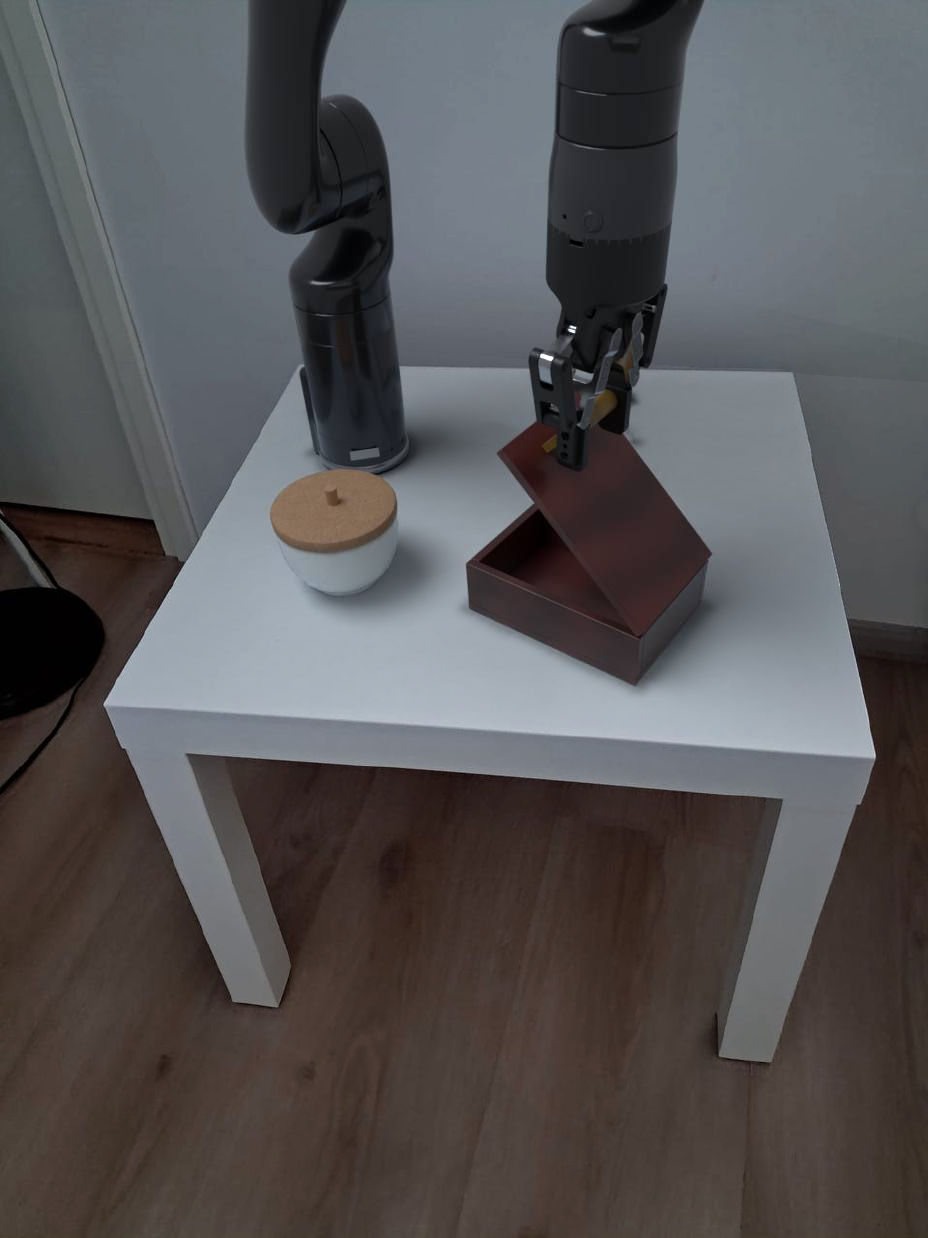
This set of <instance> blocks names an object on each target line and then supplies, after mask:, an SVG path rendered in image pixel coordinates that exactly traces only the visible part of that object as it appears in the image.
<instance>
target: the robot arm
mask: <svg viewBox="0 0 928 1238" xmlns="http://www.w3.org/2000/svg"><path fill="white" fill-rule="evenodd" d="M348 1H349V0H246V3H247V52H246V77H245V78H246V79H245V83H246V84H245V102H244V104H245V105H244V128H243V129H244V134H243V136H244V137H243V138H244V139H243V140H244V143H243V144H244V145H243V147H244V161H245V169H246V176H247V180H248V184H249V188H250V192H251V194H252V197H253V199H254V202H255V204H256V206H257V209H258V211H259V212H260V214H261V215H262V217H263V218H264V219H265V221H266V222H267V223H268V225H270V226H271V227H272V228H273V229H274V230H276V231H277V232H279V233H282V234H285V235H290V236H297V235H303V234H307V233H311V232H313V234H312V236H311V237H310V240H309V242H308V243H307V244H306V246H305V247H304V248H303V249H302V250H301V252H300V253H299V254H298V255H297V256H296V257H295V258H294V260H293V261H292V263H291V265H290V267H289V269H288V274H287V279H288V288H289V293H290V298H291V301H292V307H293V313H294V318H295V324H296V329H297V333H298V339H299V344H300V349H301V350H300V351H301V356H302V360H303V367H301V368H300V370H299V373H298V375H299V380H300V384H301V390H302V395H303V400H304V407H305V410H306V415H307V422H308V426H309V431H310V436H311V441H312V447H313V452H314V453H316V454H318V455H319V458H320V461H321V462H322V464H323V466H325V467H326V468H327V469H328V470H337V469H353V470H360V471H365V472H369V473H372V474H374V475H376V474H379V473H383V472H386V471H387V470H390V469H393V468H394V467H396V466H397V465H399V464H400V463H401V462H403V461H404V460H405V458H407V456H408V454H409V450H410V441H409V435H408V432H407V423H406V413H405V405H404V396H403V395H404V394H403V386H402V378H401V377H402V375H401V368H400V360H399V359H400V358H399V352H398V341H397V333H396V332H397V331H396V325H395V317H394V308H393V298H392V290H391V281H390V273H391V270H392V267H393V263H394V257H395V236H394V222H393V221H394V220H393V219H394V218H393V202H392V199H393V198H392V183H391V172H390V171H391V170H390V164H389V157H388V152H387V148H386V144H385V140H384V137H383V135H382V131H381V129H380V127H379V124H378V122H377V121H376V119H375V117H374V115H373V114H372V112H371V111H370V110H369V108H368V107H367V106H366V105H365V104H364V103H363V102H362V101H360V100H359V99H358V98H356V97H354V96H352V95H349V94H347V93H335V94H334V93H333V94H330V95H324V96H322V84H323V78H324V71H325V70H324V69H325V66H326V61H327V56H328V52H329V49H330V45H331V42H332V39H333V37H334V34H335V32H336V30H337V29H336V28H337V26H338V24H339V22H340V19H341V16H342V14H343V12H344V10H345V7H346V5H347V3H348ZM704 4H705V0H591V1H589V2H587V3H586V4H584V5H582V6H580V7H579V8H577V9H576V10H575V11H573V12H571V14H570V15H569V16H568V17H567V18H566V19H565V20H564V22H563V23H562V25H561V28H560V30H559V34H558V40H557V48H556V60H555V61H556V64H555V85H554V116H553V117H554V118H553V119H554V121H553V140H552V146H551V147H552V148H551V153H550V158H549V166H548V179H547V180H548V181H547V211H546V212H547V213H546V214H547V215H546V247H545V248H546V249H545V252H546V253H545V282H546V285H547V287H548V288H549V290H550V291H551V293H553V295H554V296H555V297H556V299H557V300H558V302H559V303H560V306H561V310H560V314H559V319H558V322H557V326H556V329H555V338H556V339H555V340H554V341H553V343H552V344H551V345H550V346H549V347H548V348H547V349H543V348H540V347H533V348H532V349H531V351H530V352H529V355H528V359H527V363H528V369H529V377H530V385H531V391H532V398H533V405H534V412H535V419H536V420H535V421H537V422H538V423H541V424H544V425H545V424H546V425H548V426H551V427H554V428H556V429H557V442H556V445H557V446H556V460H557V462H558V463H559V464H560V465H561V466H564V467H566V468H569V469H571V470H574V471H577V472H580V471H582V470H583V469H584V468H585V467H586V466H587V464H588V453H589V439H590V424H589V422H590V418H591V414H592V410H593V406H594V402H595V398H596V396H598V395H601V394H602V393H603V392H604V390H605V389H607V390H610V391H612V392H613V393H614V394H615V396H616V398H617V406H616V407H615V408H614V409H613V410H612V411H611V412H610V413H608V414H607V415H606V416H605V417H604V418H603V419H601V420H600V421H599V422H598V424H599V426H600V427H601V428H602V429H604V430H606V431H609V432H612V433H615V434H618V435H621V434H624V433H625V432H626V431H627V430H629V429H628V428H629V426H630V417H631V406H632V396H633V388H634V387H636V386H637V385H638V383H639V380H640V376H641V375H640V374H641V373H640V369H642V368H643V369H646V370H647V369H648V368H650V366H651V364H652V362H653V359H654V355H655V350H656V345H657V341H658V337H659V336H658V335H659V331H660V326H661V322H662V318H663V313H664V308H665V303H666V299H667V294H668V290H669V287H668V284H667V283H666V275H667V274H666V273H667V265H668V258H669V248H670V241H671V231H672V224H673V214H674V205H675V199H676V190H677V182H678V161H679V160H678V159H679V157H678V137H679V126H680V125H679V123H680V116H681V109H682V99H683V89H684V82H685V81H684V80H685V72H686V65H687V64H686V62H687V52H688V47H689V44H690V41H691V38H692V35H693V33H694V30H695V27H696V25H697V22H698V20H699V17H700V15H701V12H702V9H703V6H704ZM642 335H643V338H642ZM642 339H643V341H642ZM577 370H578V371H581V372H582V373H583V372H584V373H587V374H590V375H592V377H591V379H588V378H585V377H582V376H579V375H576V373H577ZM574 391H577V392H579V393H580V394H581V401H580V405H579V408H576V405H575V395H574Z"/></svg>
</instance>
